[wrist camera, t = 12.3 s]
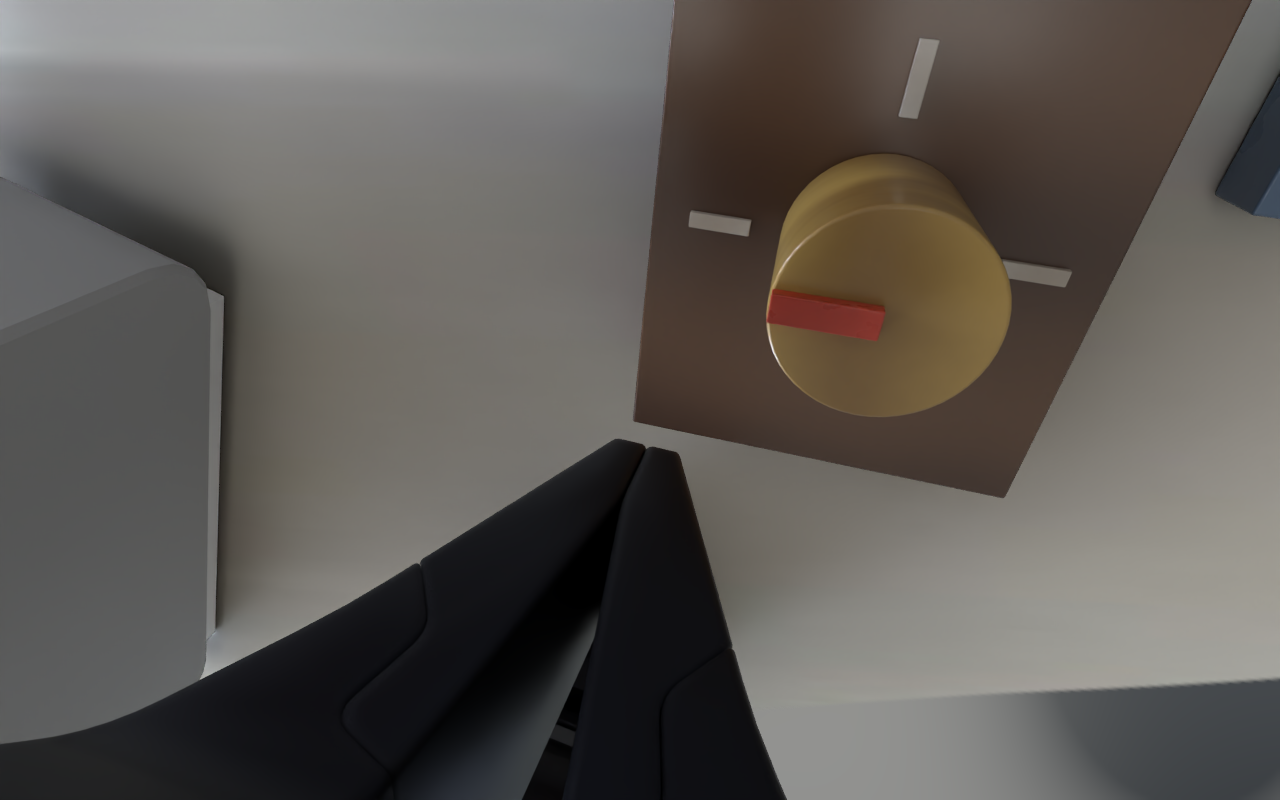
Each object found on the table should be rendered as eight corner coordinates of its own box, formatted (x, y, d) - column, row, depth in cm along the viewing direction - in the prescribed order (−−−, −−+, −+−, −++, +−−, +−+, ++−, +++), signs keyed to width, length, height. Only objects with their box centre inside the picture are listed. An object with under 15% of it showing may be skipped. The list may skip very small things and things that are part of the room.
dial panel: (982, 435, 20) (1006, 503, 17) (654, 371, 21) (630, 424, 19) (1198, -50, 13) (1287, -58, 11) (707, -92, 15) (682, -109, 12)
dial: (998, 166, 14) (1059, 230, 10) (936, 342, 16) (968, 446, 12) (798, 141, 14) (788, 192, 11) (765, 313, 16) (747, 405, 13)
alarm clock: (-13, 112, 22) (-678, 211, 12) (241, 235, 22) (-216, 428, 13) (72, 591, 38) (-196, 806, 28) (224, 663, 38) (10, 901, 28)
